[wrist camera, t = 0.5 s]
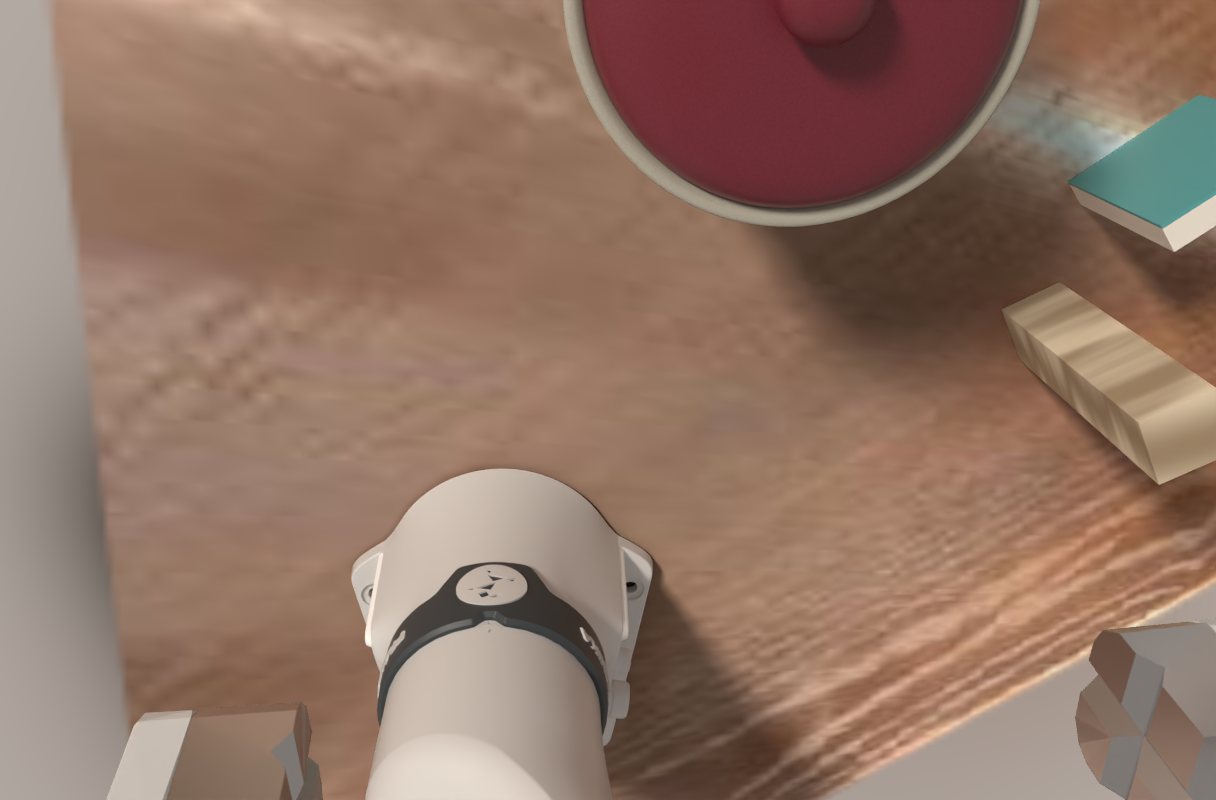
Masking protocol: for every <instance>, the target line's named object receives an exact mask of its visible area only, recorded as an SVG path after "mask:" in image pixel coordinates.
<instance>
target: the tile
mask: <svg viewBox="0 0 1216 800" xmlns="http://www.w3.org/2000/svg"><path fill="white" fill-rule="evenodd" d="M1068 183H1069V185H1070V187H1071V188H1072V190H1073V192H1074V194H1075V196H1076V198H1077V200H1078V201H1079V203H1080V205H1082V206H1084V207H1086V208H1088V209H1090V210H1092V211H1094V212H1096V213H1098V214H1100V215H1102V216H1104V217H1106V218H1108V219H1110V220H1112V221H1114V222H1116V223H1118V224H1120V225H1122V226H1124V227H1126V228H1128V229H1130V230H1132V231H1134V232H1136V233H1138V234H1139V235H1141V236H1143V237H1145V238H1147V239H1149V240H1151V241H1153V242H1155V243H1157V244H1159V245H1161V246H1163V247H1165V248H1167V249H1169V250H1171V251H1173V252H1175V251H1177V250H1178V249H1180V248H1182V247H1183V246H1185V245H1186V244H1188V243H1189V242H1191V241H1193V240H1194V239H1196V238H1197V237H1199V236H1200V235H1202V234H1204V233H1205V232H1207V231H1208V230H1210V229H1211V228H1213V227H1215V226H1216V99H1214V98H1210V97H1206V96H1202V95H1198V96H1196V97H1195V98H1193V99H1192V100H1190V101H1189V102H1187V103H1186V104H1184V105H1183V106H1181V107H1180V108H1178V109H1177V110H1175V111H1174V112H1172V113H1171V114H1169V115H1168V116H1166V117H1165V118H1163V119H1162V120H1160V121H1159V122H1157V123H1156V124H1154V125H1153V126H1151V127H1150V128H1148V129H1147V130H1145V131H1143V132H1142V133H1140V134H1139V135H1137V136H1136V137H1134V138H1133V139H1131V140H1130V141H1128V142H1127V143H1125V144H1124V145H1122V146H1121V147H1119V148H1118V149H1116V150H1115V151H1113V152H1112V153H1110V154H1109V155H1107V156H1106V157H1104V158H1103V159H1101V160H1100V161H1098V162H1097V163H1095V164H1094V165H1092V166H1091V167H1089V168H1088V169H1086V170H1085V171H1083V172H1082V173H1080V174H1079V175H1077V176H1076V177H1074V178H1073V179H1071V180H1070V181H1068Z"/></svg>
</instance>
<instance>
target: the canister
mask: <svg viewBox="0 0 1216 800" xmlns="http://www.w3.org/2000/svg"><path fill="white" fill-rule="evenodd" d="M1040 2H1041V0H563V9H564V18H565V26H566V32H567V37H568V42H569V47H570V51H571V55H572V58H573V62H574V65H575V68H576V71H577V74H578V77H579V79H580V82H581V84H582V87H583V89H584V92H585V94H586V96H587V98H588V100H589V102H590V104H591V106H592V108H593V110H594V112H595V114H596V115H597V117H598V119H599V120H600V122H601V124H602V125H603V127H604V128H605V130H606V131H607V133H608V134H609V135H610V137H611V138H612V140H613V141H614V142H615V143H616V145H617V146H618V147H619V148H620V150H621V151H622V152H623V153H624V154H625V155H626V156H627V157H628V159H629V160H630V161H631V162H632V163H633V164H634V165H635V166H636V167H637V168H639V169H640V170H641V171H642V172H643V173H644V174H645V175H646V176H648V177H649V178H650V179H651V180H652V181H654V182H655V183H656V184H658V185H659V186H660V187H662V188H663V189H665V190H666V191H668V192H669V193H671V194H672V195H674V196H676V197H677V198H679V199H681V200H683V201H684V202H686V203H688V204H690V205H692V206H694V207H697V208H699V209H701V210H703V211H706V212H708V213H711V214H714V215H717V216H720V217H723V218H726V219H730V220H734V221H738V222H743V223H748V224H754V225H762V226H773V227H800V226H811V225H819V224H825V223H831V222H836V221H840V220H844V219H848V218H851V217H854V216H858V215H861V214H864V213H866V212H869V211H872V210H874V209H877V208H879V207H881V206H883V205H886V204H888V203H890V202H892V201H894V200H896V199H898V198H899V197H901V196H903V195H905V194H907V193H908V192H910V191H912V190H913V189H915V188H916V187H918V186H919V185H921V184H922V183H924V182H925V181H927V180H928V179H929V178H931V177H932V176H934V175H935V174H936V173H937V172H939V171H940V170H941V169H942V168H943V167H945V166H946V165H947V164H948V163H949V162H950V161H951V160H953V159H954V158H955V157H956V156H957V155H958V154H959V153H960V152H961V151H962V150H963V149H964V148H965V147H966V146H967V145H968V144H969V143H970V141H971V140H972V139H973V138H974V137H975V136H976V135H977V133H978V132H979V131H980V130H981V129H982V127H983V126H984V125H985V124H986V122H987V121H988V120H989V118H990V117H991V115H992V114H993V113H994V111H995V110H996V108H997V107H998V105H999V104H1000V102H1001V100H1002V99H1003V97H1004V96H1005V94H1006V92H1007V90H1008V89H1009V87H1010V85H1011V83H1012V81H1013V79H1014V77H1015V75H1016V73H1017V71H1018V69H1019V67H1020V65H1021V63H1022V60H1023V58H1024V55H1025V53H1026V50H1027V48H1028V45H1029V42H1030V39H1031V36H1032V33H1033V30H1034V27H1035V23H1036V19H1037V15H1038V11H1039V7H1040Z"/></svg>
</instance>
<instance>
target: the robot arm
mask: <svg viewBox="0 0 1216 800" xmlns="http://www.w3.org/2000/svg"><path fill="white" fill-rule="evenodd" d="M652 574H653V562H652V559H651V557H650V556H649V554H648V553H647V552H645V551H644V550H643V549H641V548H640V547H638V546H637V545H635V544H633V543H632V542H630V541H628V540H626V539H624V538H622V537H620V536H618V535H617V534H616V533H615V532H614V531H613V530H612V529H611V528H610V527H609V526H608V524H607V523H606V522H605V521H604V519H603V518H602V517H601V515H600V514H599V513H598V511H597V510H596V509H595V508H594V507H593V506H592V505H591V504H590V503H589V502H588V501H587V500H586V499H585V498H584V497H583V496H581V495H580V494H579V493H577V492H576V491H575V490H573V489H572V488H570V487H568V486H567V485H565V484H563V483H561V482H559V481H557V480H555V479H552V478H550V477H547V476H544V475H541V474H537V473H534V472H529V471H524V470H517V469H488V470H481V471H475V472H471V473H467V474H463V475H460V476H457V477H455V478H452V479H450V480H448V481H445V482H443V483H441V484H440V485H438V486H436V487H434V488H433V489H431V490H430V491H428V492H427V493H426V494H425V495H423V496H422V497H421V498H420V499H419V500H418V501H416V502H415V503H414V504H413V506H412V507H411V508H410V509H409V510H408V511H407V513H406V514H405V515H404V517H403V518H402V520H401V521H400V523H399V524H398V526H397V527H396V529H395V530H394V531H393V533H392V534H391V535H390V536H389V537H388V538H387V539H386V540H385V541H384V542H382V543H380V544H378V545H377V546H375V547H374V548H372V549H370V550H369V551H367V552H366V553H364V554H363V555H362V556H361V557H359V558H358V559H357V560H356V562H355V563H354V565H353V568H352V577H351V579H352V584H353V588H354V590H355V593H356V596H357V599H358V602H359V605H360V608H361V611H362V614H363V617H364V620H365V623H366V632H365V642H366V645H367V646H370V647H372V650H373V654H374V657H375V660H376V663H377V665H378V668H379V670H380V678H379V683H378V707H377V713H378V721H379V725H380V731H379V735H378V740H377V745H376V749H375V754H374V759H373V764H372V768H371V773H370V778H369V782H368V787H367V792H366V797H365V800H614V799H613V796H612V792H611V787H610V782H609V777H608V772H607V766H606V760H605V754H604V746H605V745H607V744H608V743H609V741H610V739H611V737H612V733H613V730H614V726H615V722H616V718H617V719H623V718H626V716H627V713H628V708H629V700H630V685H629V682H626V678H627V674H628V672H629V670H630V665H631V659H632V655H633V651H634V647H635V643H636V639H637V635H638V631H639V627H640V623H641V619H642V615H643V611H644V607H645V603H646V599H647V595H648V591H649V587H650V583H651V579H652ZM627 582H635V583H636V584H635V585H634V586H632V587H627V586H626V583H627ZM372 588H373V591H372V590H371V589H372ZM1089 661H1090V662H1091V664H1092V666H1093V667H1094V668H1095V670H1096V672H1097V673H1098V676H1097V677H1096V678H1095V679H1094V680H1093V681H1092V682H1091V683H1090V684H1089V685H1088V686H1087V687H1086V688H1085V689H1084V690H1083V691H1082V692H1081V693H1080V697H1079V702H1078V707H1077V712H1076V717H1075V719H1076V726H1077V733H1078V741H1079V745H1080V747H1081V750H1082V753H1083V755H1084V758H1085V760H1086V763H1087V765H1088V766H1089V768H1090V769H1091V771H1092V772H1093V774H1094V775H1095V777H1096V779H1097V780H1098V782H1099V783H1100V784H1102V785H1103V786H1105V787H1106V788H1108V789H1110V790H1111V791H1113V792H1115V793H1116V794H1118V795H1120V796H1122V797H1123V798H1124V799H1125V800H1216V618H1214V619H1205V620H1196V621H1194V622H1181V623H1171V624H1161V625H1150V626H1140V627H1130V628H1120V629H1110V630H1103V631H1102V632H1101V633H1100V634H1099V636H1098V637H1097V638H1096V639H1095V640H1094V643H1093V646H1092V650H1091V654H1090V657H1089ZM311 735H312V729H311V724H310V720H309V715H308V711H307V706H306V705H305V704H303V703H302V702H292V703H277V704H261V705H246V706H231V707H216V708H201V709H198V710H189V711H172V712H156V713H145V714H144V715H143V716H142V717H141V718H140V719H139V721H138V722H137V723H136V724H135V725H134V727H133V730H132V733H131V735H130V738H129V741H128V743H127V746H126V749H125V751H124V754H123V757H122V759H121V762H120V765H119V767H118V770H117V773H116V776H115V778H114V781H113V784H112V787H111V789H110V792H109V795H108V797H107V800H323V794H322V783H321V777H320V771H319V766H318V764H317V763H315V762H314V761H313V760H311V759H310V758H309V757H308V754H309V748H310V741H311Z"/></svg>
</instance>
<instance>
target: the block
mask: <svg viewBox="0 0 1216 800" xmlns="http://www.w3.org/2000/svg"><path fill="white" fill-rule="evenodd" d="M1001 310H1002V313H1003V316H1004V318H1005V321H1006V324H1007V326H1008V329H1009V332H1010V334H1011V337H1012V340H1013V342H1014V345H1015V348H1016V350H1017V353H1018V356H1019V359H1020V361H1022V362H1023V363H1024V364H1025V365H1026V366H1027V367H1028V368H1029V369H1030V370H1032V371H1033V372H1034V373H1035V374H1036V375H1037V376H1038V377H1039V378H1040V379H1042V380H1043V381H1044V382H1045V383H1046V384H1047V385H1048V386H1049V387H1050V388H1052V389H1053V390H1054V391H1055V392H1056V393H1057V394H1058V395H1059V396H1060V397H1062V398H1063V399H1064V400H1065V401H1066V402H1067V403H1068V404H1069V405H1070V406H1072V407H1073V408H1074V409H1075V410H1076V411H1077V412H1078V413H1079V414H1081V415H1082V416H1083V417H1084V418H1085V419H1086V420H1087V421H1088V422H1089V423H1091V424H1092V425H1093V426H1094V427H1095V428H1096V429H1097V430H1098V431H1099V432H1101V433H1102V434H1103V435H1104V436H1105V437H1106V438H1107V439H1108V440H1109V441H1111V442H1112V443H1113V444H1114V445H1115V446H1116V447H1117V448H1118V449H1119V450H1121V451H1122V452H1123V453H1124V454H1125V455H1126V456H1127V457H1128V458H1129V459H1131V460H1132V461H1133V462H1134V463H1135V464H1136V465H1137V466H1138V467H1139V468H1141V469H1142V470H1143V471H1144V472H1145V473H1146V474H1147V475H1148V476H1149V477H1151V478H1152V479H1153V480H1154V481H1155V482H1156V483H1157V484H1158V485H1160V484H1162V483H1165V482H1167V481H1169V480H1172V479H1174V478H1176V477H1178V476H1181V475H1183V474H1185V473H1188V472H1190V471H1192V470H1194V469H1197V468H1199V467H1201V466H1204V465H1206V464H1208V463H1210V462H1213V461H1215V460H1216V388H1215V387H1214V386H1212V385H1211V384H1209V383H1208V382H1207V381H1205V380H1204V379H1202V378H1201V377H1199V376H1198V375H1196V374H1195V373H1193V372H1192V371H1190V370H1189V369H1187V368H1186V367H1184V366H1183V365H1181V364H1180V363H1178V362H1177V361H1176V360H1174V359H1173V358H1171V357H1170V356H1168V355H1167V354H1165V353H1164V352H1162V351H1161V350H1159V349H1158V348H1156V347H1155V346H1153V345H1152V344H1150V343H1149V342H1147V341H1146V340H1145V339H1143V338H1142V337H1140V336H1139V335H1137V334H1136V333H1134V332H1133V331H1131V330H1130V329H1128V328H1127V327H1125V326H1124V325H1122V324H1121V323H1119V322H1118V321H1116V320H1115V319H1114V318H1112V317H1111V316H1109V315H1108V314H1106V313H1105V312H1103V311H1102V310H1100V309H1099V308H1097V307H1096V306H1094V305H1093V304H1091V303H1090V302H1088V301H1087V300H1085V299H1084V298H1083V297H1081V296H1080V295H1078V294H1077V293H1075V292H1074V291H1072V290H1071V289H1069V288H1068V287H1066V286H1065V285H1063V284H1062V283H1060V282H1058V283H1056V284H1054V285H1052V286H1050V287H1048V288H1046V289H1044V290H1041V291H1039V292H1037V293H1035V294H1033V295H1031V296H1029V297H1027V298H1024V299H1022V300H1020V301H1018V302H1016V303H1014V304H1012V305H1010V306H1007V307H1005V308H1003V309H1001Z"/></svg>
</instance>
